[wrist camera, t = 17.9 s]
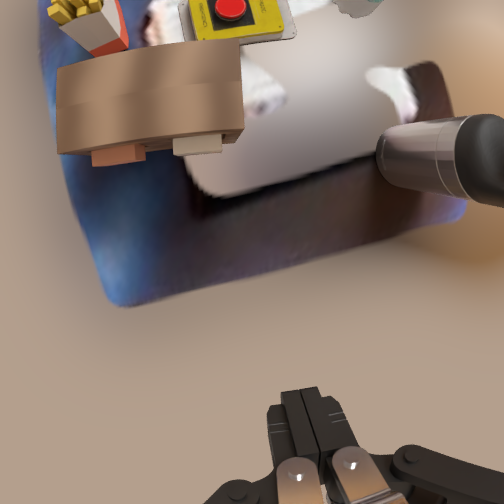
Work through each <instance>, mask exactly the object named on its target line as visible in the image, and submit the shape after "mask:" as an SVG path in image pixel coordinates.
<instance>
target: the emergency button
mask: <svg viewBox="0 0 504 504" xmlns="http://www.w3.org/2000/svg"><path fill="white" fill-rule="evenodd" d="M178 9H179V14H180V18H181V23H182V28H183V33H184V38H185V42H188V41H198V40H210V39H227V38H239V45H242V46H244V45H250V44H257V43H265V42H272V41H281V40H290V39H293V38H294V37H295V36H296V35H297V31H296V27H295V24H294V21H293V17H292V14H291V11H290V8H289V5H288V2H287V0H183V1H181V2H180V3H179V5H178Z"/></svg>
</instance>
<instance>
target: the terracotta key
mask: <svg viewBox="0 0 504 504" xmlns="http://www.w3.org/2000/svg"><path fill="white" fill-rule="evenodd" d="M91 153H92V167H94V166H111V165H117V164H124V163H131V162H138V161H145V160H146V155H145V145H142V144H138V143H136V144H130V145H123V146H117V147H111V148H106V149H100V150H95V151H91Z"/></svg>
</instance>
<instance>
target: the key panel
mask: <svg viewBox="0 0 504 504" xmlns="http://www.w3.org/2000/svg"><path fill="white" fill-rule="evenodd" d="M244 128H245V127H244V111H243V95H242V79H241V64H240V48H239V38H227V39H210V40H198V41H188V42H179V43H171V44H164V45H157V46H150V47H144V48H139V49H133V50H128V51H123V52H118V53H114V54H109V55H105V56H100V57H96V58H92V59H88V60H85V61H81V62H77V63H74V64H70V65H67V66H64V67H60V68H57V87H56V132H57V154H69V155H92V153H91V151H95V150H100V149H106V148H111V147H117V146H123V145H130V144H136V143H138V144H142V145H145V152H149V151H157V150H165V149H173V139H175V138H184V137H194V136H205V135H217V134H221V139H222V144H228V143H235V142H236V140H237V139H238V137H239V136H240V134H241V133H242V131H243V130H244Z"/></svg>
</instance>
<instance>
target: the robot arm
mask: <svg viewBox="0 0 504 504" xmlns="http://www.w3.org/2000/svg"><path fill="white" fill-rule="evenodd" d="M376 162H377V165H378V168H379V170H380V172H381V174H382V176H383V177H384V178H385V179H386V180H387V181H388V182H389V183H390V184H392V185H394V186H397V187H401V188H407V189H412V190H418V191H423V192H429V193H434V194H439V195H444V196H449V197H454V198H459V199H464V200H469V201H473V202H478V203H482V204H488V205H492V206H497V207H502V208H504V119H503V118H501V117H499V116H496V115H494V114H480V115H469V116H461V117H453V118H445V119H438V120H430V121H423V122H417V123H410V124H404V125H398V126H393V127H390V128H388V129H387V130H386V131H384V133H383V134H382V135H381V136H380V138H379V140H378V143H377V147H376ZM267 425H268V437H269V444H270V449H271V455H272V460H273V466H274V469H273V471H272V472H271V473H270V474H269V475H268V476H266V477H265V478H263V479H261V480H259V481H256V482H253V483H251V482H249V481H246V480H232V481H228V482H226V483H225V484H223V485H222V486H221V487H220V488H219V489H218V490H217V491H216V492H215V493H214V494H213V495H212V496H211V497H210V498H209V499H208V500H207V501H206V502H205V503H204V504H324V501H323V496H322V491H321V486H320V485H322V484H325V487H326V490H327V494H326V500H327V503H328V504H504V473H502V472H499V471H495V470H491V469H487V468H484V467H481V466H477V465H474V464H471V463H467V462H465V461H461V460H458V459H455V458H452V457H449V456H446V455H443V454H440V453H438V452H434V451H432V450H429V449H426V448H423V447H421V446H418V445H405V446H402V447H401V448H399V449H398V450H397V451H396V452H395V454H392V455H374V454H370V453H368V452H367V451H366V450H364V449H363V448H361V447H360V446H359V445H358V443H357V440H356V438H355V436H354V434H353V432H352V430H351V428H350V425H349V423H348V421H347V420H346V417H345V414H344V413H343V410H342V408H341V406H340V404H339V402H338V401H336V400H335V399H334V398H333V397H331V396H327V397H321V395H320V392H319V390H318V388H317V387H310V388H305V389H299V390H292V391H285V392H281V404H279V405H271V406H270V408H269V410H268V412H267Z"/></svg>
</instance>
